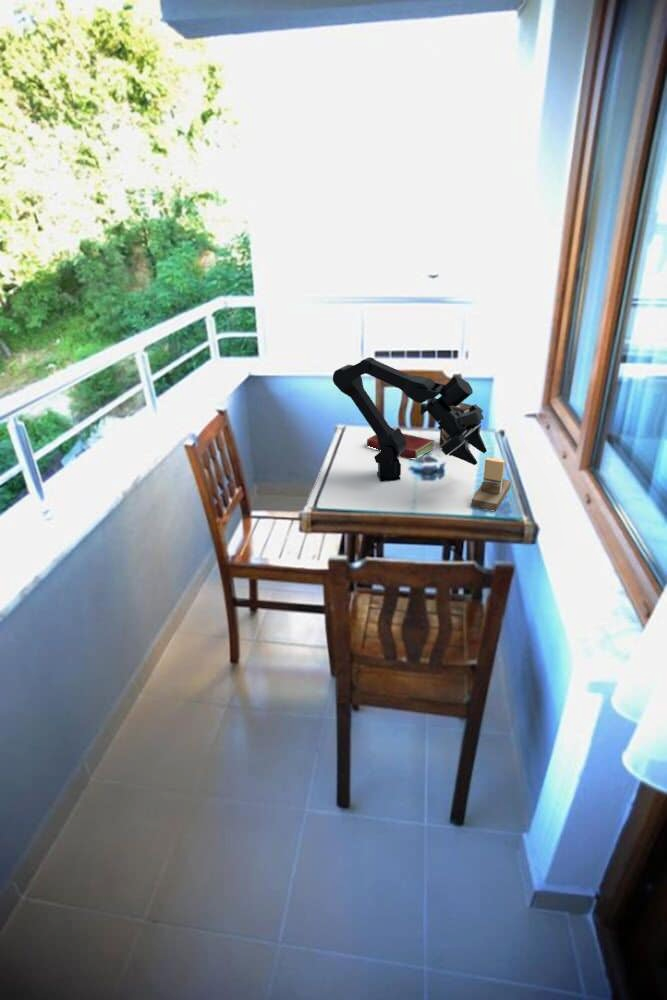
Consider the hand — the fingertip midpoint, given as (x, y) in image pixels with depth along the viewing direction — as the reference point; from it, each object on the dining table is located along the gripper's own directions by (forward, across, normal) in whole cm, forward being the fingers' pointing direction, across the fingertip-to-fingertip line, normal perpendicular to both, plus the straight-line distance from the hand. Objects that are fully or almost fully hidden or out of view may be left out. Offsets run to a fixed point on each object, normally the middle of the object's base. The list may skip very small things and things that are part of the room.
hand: (481, 458), depth 143 cm
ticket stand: (+11, 0, +6) cm, 12 cm away
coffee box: (-4, +31, +21) cm, 38 cm away
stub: (+7, 0, +1) cm, 7 cm away
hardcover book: (-16, +23, +33) cm, 44 cm away
